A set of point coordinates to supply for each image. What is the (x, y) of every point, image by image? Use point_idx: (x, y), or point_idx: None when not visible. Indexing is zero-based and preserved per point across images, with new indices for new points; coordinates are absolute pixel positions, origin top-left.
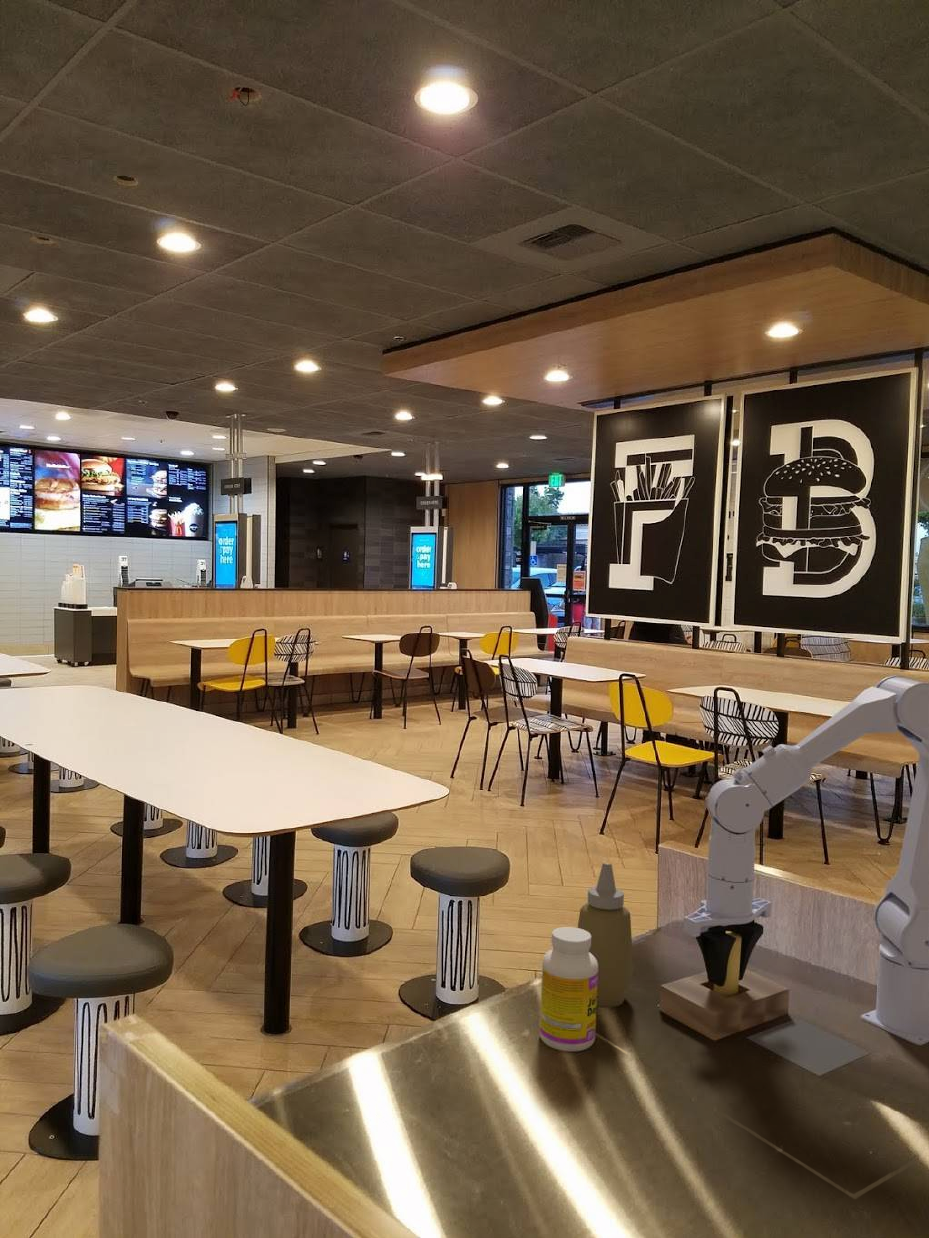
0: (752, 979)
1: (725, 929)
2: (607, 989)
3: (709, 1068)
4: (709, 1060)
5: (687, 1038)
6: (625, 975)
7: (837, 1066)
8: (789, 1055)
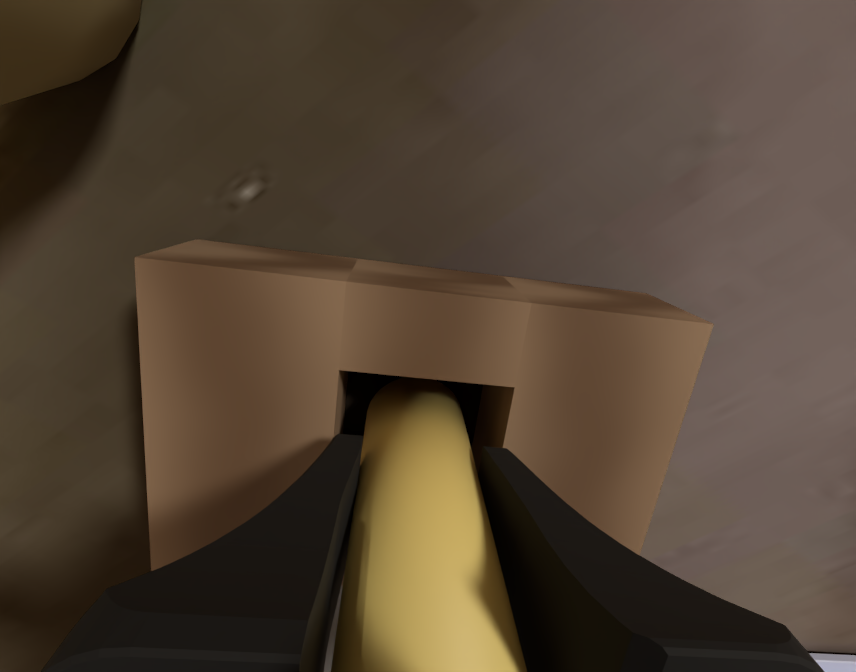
0: (596, 478)
1: (582, 626)
2: None
3: (58, 571)
4: (95, 546)
5: (138, 430)
6: None
7: None
8: (328, 657)
